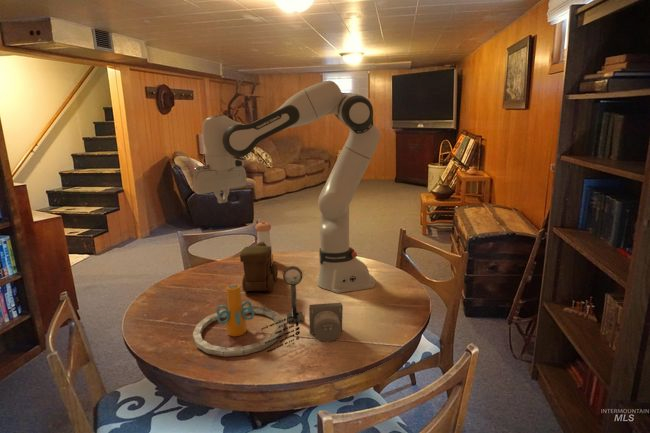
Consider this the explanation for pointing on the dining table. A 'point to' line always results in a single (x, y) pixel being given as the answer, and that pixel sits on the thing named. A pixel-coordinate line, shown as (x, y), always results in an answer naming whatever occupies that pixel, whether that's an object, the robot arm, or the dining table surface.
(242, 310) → the orange vase with loops
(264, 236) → the salt shaker
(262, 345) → the ring
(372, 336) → the dining table surface
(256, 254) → the brown backpack
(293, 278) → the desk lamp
